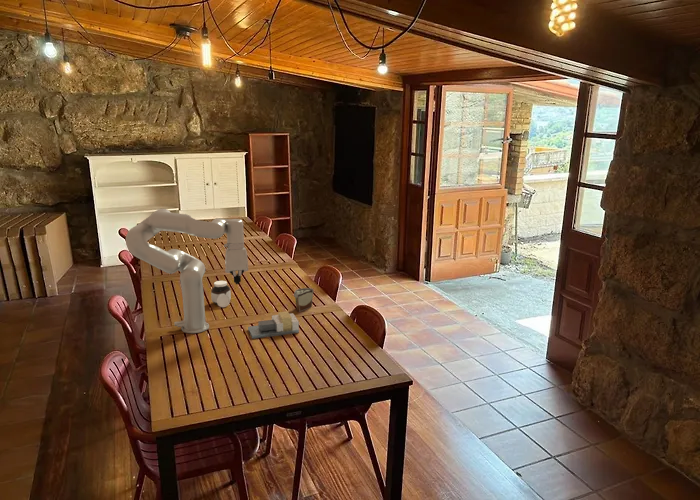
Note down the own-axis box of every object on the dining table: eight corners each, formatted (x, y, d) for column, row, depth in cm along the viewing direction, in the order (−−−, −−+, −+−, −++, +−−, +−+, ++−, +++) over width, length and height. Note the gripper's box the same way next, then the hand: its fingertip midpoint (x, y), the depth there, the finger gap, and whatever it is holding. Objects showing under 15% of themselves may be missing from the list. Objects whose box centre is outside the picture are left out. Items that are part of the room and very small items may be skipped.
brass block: (282, 330, 232) (282, 318, 231) (278, 324, 239) (278, 312, 238) (291, 329, 234) (291, 317, 232) (287, 322, 241) (287, 311, 239)
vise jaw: (261, 334, 227) (261, 325, 226) (257, 324, 237) (257, 317, 236) (283, 331, 231) (283, 323, 230) (278, 322, 241) (277, 314, 240)
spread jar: (223, 298, 276) (222, 279, 273) (238, 302, 271) (237, 282, 268) (206, 305, 266) (205, 284, 263) (222, 309, 261) (221, 288, 258)
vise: (252, 339, 226) (251, 327, 225) (248, 329, 236) (247, 318, 235) (298, 332, 234) (298, 321, 232) (293, 323, 244) (293, 313, 242)
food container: (305, 303, 271) (305, 286, 268) (313, 306, 267) (313, 288, 265) (289, 309, 262) (288, 291, 259) (297, 312, 258) (297, 294, 255)
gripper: (220, 249, 223) (222, 287, 227) (253, 246, 228) (254, 284, 232) (218, 245, 230) (220, 282, 234) (250, 242, 235) (252, 279, 239)
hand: (237, 283), depth 233 cm, fingers closed
